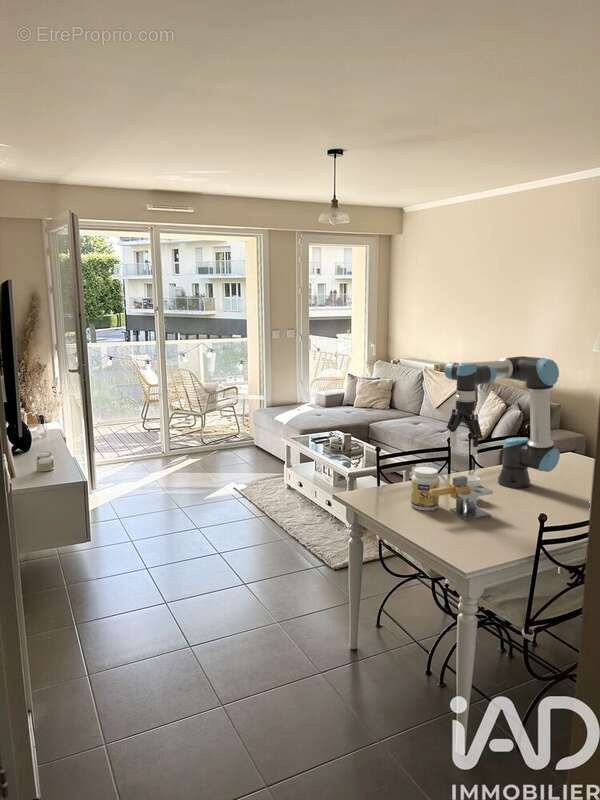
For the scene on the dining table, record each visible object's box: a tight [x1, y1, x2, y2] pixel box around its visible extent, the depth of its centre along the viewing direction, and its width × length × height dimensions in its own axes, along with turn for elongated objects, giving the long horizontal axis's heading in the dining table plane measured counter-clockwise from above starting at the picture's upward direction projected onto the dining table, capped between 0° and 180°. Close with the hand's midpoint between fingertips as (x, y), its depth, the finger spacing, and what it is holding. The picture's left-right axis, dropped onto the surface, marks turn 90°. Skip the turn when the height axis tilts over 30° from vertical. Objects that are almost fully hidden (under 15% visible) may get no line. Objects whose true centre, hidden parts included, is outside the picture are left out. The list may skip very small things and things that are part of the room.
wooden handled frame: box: [429, 483, 471, 500], centre depth 248 cm, size 17×6×5 cm, turn 112°
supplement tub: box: [410, 466, 440, 512], centre depth 261 cm, size 12×12×17 cm
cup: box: [464, 474, 481, 502], centre depth 273 cm, size 8×12×10 cm
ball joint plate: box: [445, 482, 494, 522], centre depth 253 cm, size 15×12×12 cm
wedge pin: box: [452, 475, 467, 516], centre depth 250 cm, size 6×3×16 cm, turn 112°
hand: (463, 450), depth 247 cm, fingers open, 13 cm apart
